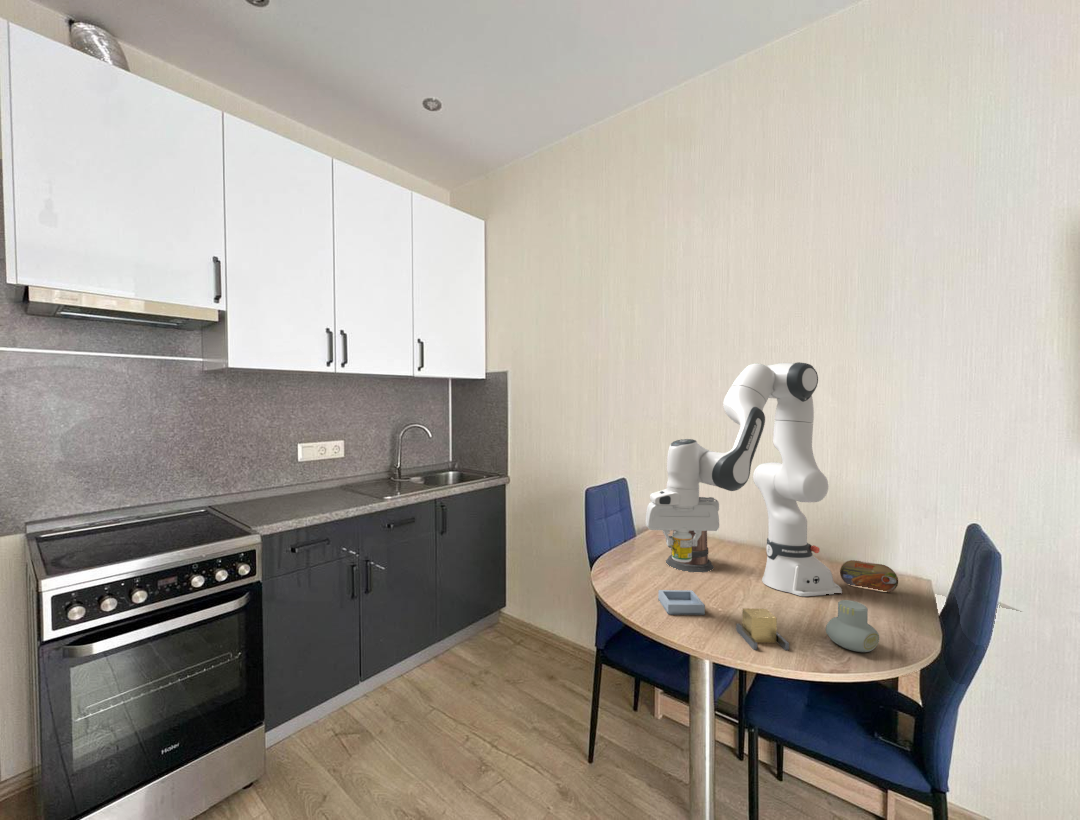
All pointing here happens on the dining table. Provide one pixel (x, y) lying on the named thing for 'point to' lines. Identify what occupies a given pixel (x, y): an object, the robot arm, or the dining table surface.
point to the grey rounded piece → (852, 627)
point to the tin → (869, 575)
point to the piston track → (753, 643)
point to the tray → (681, 602)
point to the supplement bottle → (682, 545)
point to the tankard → (694, 556)
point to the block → (760, 624)
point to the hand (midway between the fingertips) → (681, 545)
